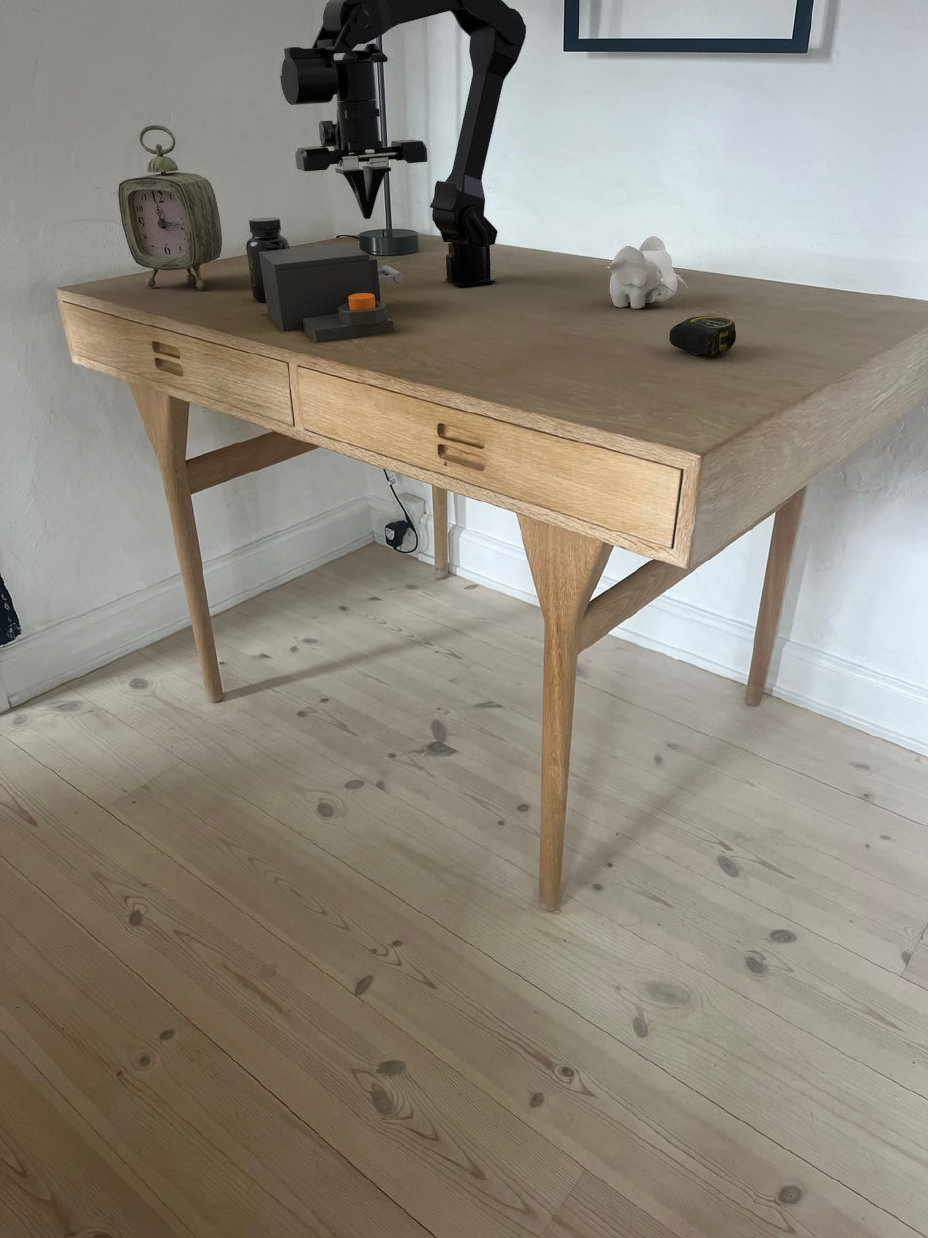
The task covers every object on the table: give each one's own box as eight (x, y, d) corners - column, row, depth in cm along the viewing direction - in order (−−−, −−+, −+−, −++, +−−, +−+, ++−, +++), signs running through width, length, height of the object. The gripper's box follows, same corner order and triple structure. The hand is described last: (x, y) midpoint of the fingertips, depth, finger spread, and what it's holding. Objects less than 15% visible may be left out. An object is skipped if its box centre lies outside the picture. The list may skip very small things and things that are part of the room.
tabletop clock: (136, 289, 160) (101, 127, 147) (168, 278, 167) (138, 123, 154) (205, 292, 155) (175, 126, 142) (235, 282, 162) (209, 121, 149)
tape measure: (665, 352, 114) (667, 321, 112) (703, 341, 117) (706, 311, 115) (706, 363, 109) (709, 331, 107) (745, 352, 112) (749, 321, 110)
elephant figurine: (668, 316, 129) (673, 249, 125) (591, 308, 135) (593, 244, 130) (693, 301, 136) (699, 237, 131) (619, 294, 142) (622, 233, 137)
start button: (371, 304, 129) (370, 291, 128) (378, 309, 126) (377, 296, 125) (346, 307, 128) (345, 294, 127) (353, 313, 125) (352, 299, 124)
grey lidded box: (354, 304, 144) (347, 242, 139) (375, 319, 134) (369, 254, 130) (267, 314, 140) (258, 251, 135) (283, 331, 130) (274, 264, 126)
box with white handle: (388, 294, 144) (384, 245, 140) (409, 307, 136) (405, 255, 132) (283, 307, 139) (276, 257, 136) (298, 322, 131) (291, 268, 127)
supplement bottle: (287, 303, 146) (276, 222, 140) (247, 302, 147) (234, 222, 141) (301, 293, 152) (292, 215, 146) (263, 293, 153) (251, 215, 147)
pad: (377, 320, 134) (375, 295, 132) (395, 333, 127) (393, 307, 125) (303, 330, 131) (300, 304, 129) (318, 344, 124) (314, 317, 122)
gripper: (401, 96, 140) (408, 207, 149) (281, 103, 135) (295, 217, 143) (425, 97, 131) (431, 215, 140) (297, 104, 126) (311, 226, 134)
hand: (367, 218), depth 139 cm, fingers closed
